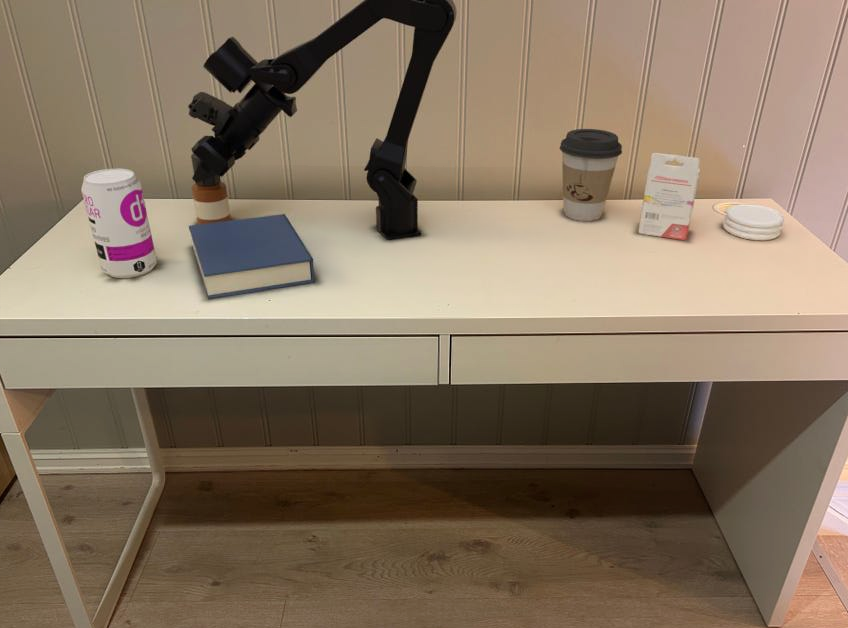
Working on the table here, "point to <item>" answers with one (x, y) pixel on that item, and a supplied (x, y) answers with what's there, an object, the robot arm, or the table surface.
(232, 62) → the robot arm
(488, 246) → the table surface
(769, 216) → the white layered disc
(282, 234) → the book
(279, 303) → the table surface
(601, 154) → the coffee cup
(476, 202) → the table surface
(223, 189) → the brown striped cylinder
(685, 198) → the ink cartridge box
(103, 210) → the supplement can
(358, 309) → the table surface
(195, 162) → the cap
